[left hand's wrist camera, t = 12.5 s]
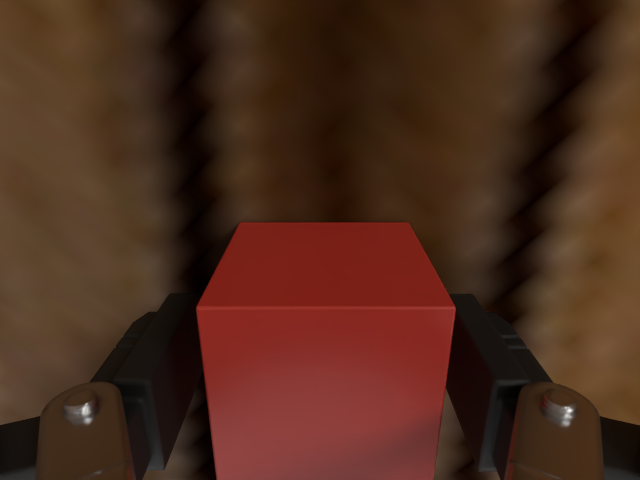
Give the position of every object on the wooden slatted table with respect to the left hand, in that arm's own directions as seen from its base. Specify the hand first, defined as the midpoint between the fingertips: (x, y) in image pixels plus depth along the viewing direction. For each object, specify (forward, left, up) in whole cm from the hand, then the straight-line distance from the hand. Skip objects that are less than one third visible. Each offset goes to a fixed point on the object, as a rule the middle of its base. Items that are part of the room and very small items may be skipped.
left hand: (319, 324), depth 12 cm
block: (0, 0, -1) cm, 1 cm away
